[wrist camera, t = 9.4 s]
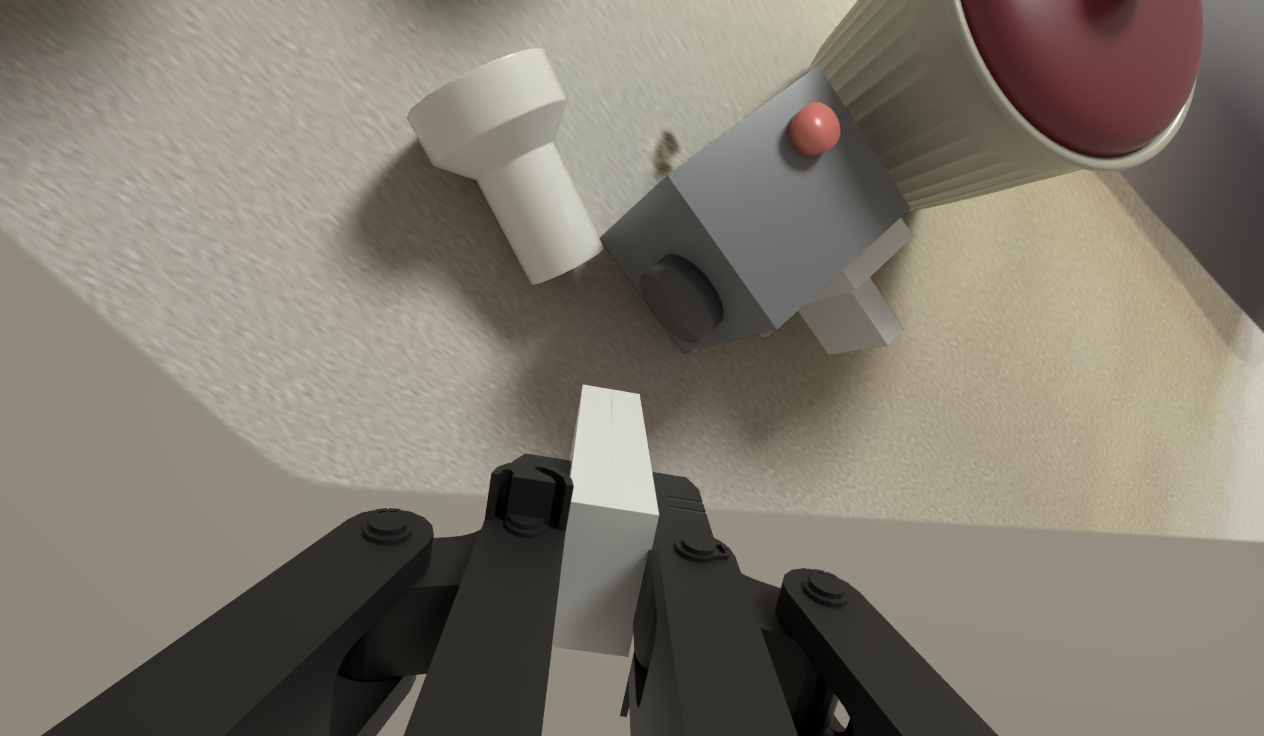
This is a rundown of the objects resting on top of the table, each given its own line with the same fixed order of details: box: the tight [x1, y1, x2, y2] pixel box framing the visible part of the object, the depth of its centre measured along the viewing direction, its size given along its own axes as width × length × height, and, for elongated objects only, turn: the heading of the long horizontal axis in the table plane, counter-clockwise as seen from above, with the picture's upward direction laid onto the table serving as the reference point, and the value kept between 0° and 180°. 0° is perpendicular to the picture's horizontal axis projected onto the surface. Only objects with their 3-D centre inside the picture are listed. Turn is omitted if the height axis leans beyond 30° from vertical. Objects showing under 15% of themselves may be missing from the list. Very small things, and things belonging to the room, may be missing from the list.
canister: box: [808, 0, 1203, 212], centre depth 38 cm, size 18×18×21 cm
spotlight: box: [407, 48, 604, 285], centre depth 35 cm, size 8×11×8 cm
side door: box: [798, 218, 913, 355], centre depth 40 cm, size 5×6×7 cm
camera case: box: [599, 65, 911, 354], centre depth 36 cm, size 9×13×12 cm
